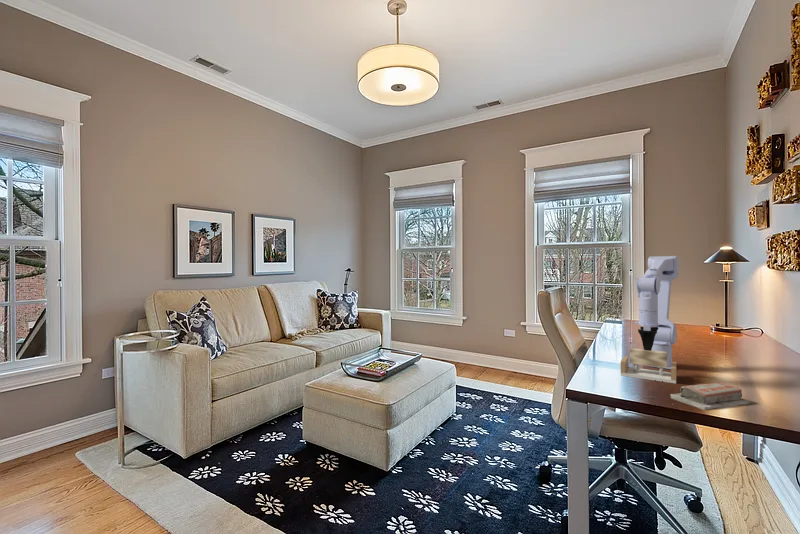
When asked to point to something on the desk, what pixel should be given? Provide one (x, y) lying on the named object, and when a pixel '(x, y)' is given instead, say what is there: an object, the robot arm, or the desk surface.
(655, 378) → the wooden peg tray
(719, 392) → the packaged product
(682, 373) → the desk surface
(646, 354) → the shelf board
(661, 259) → the robot arm
